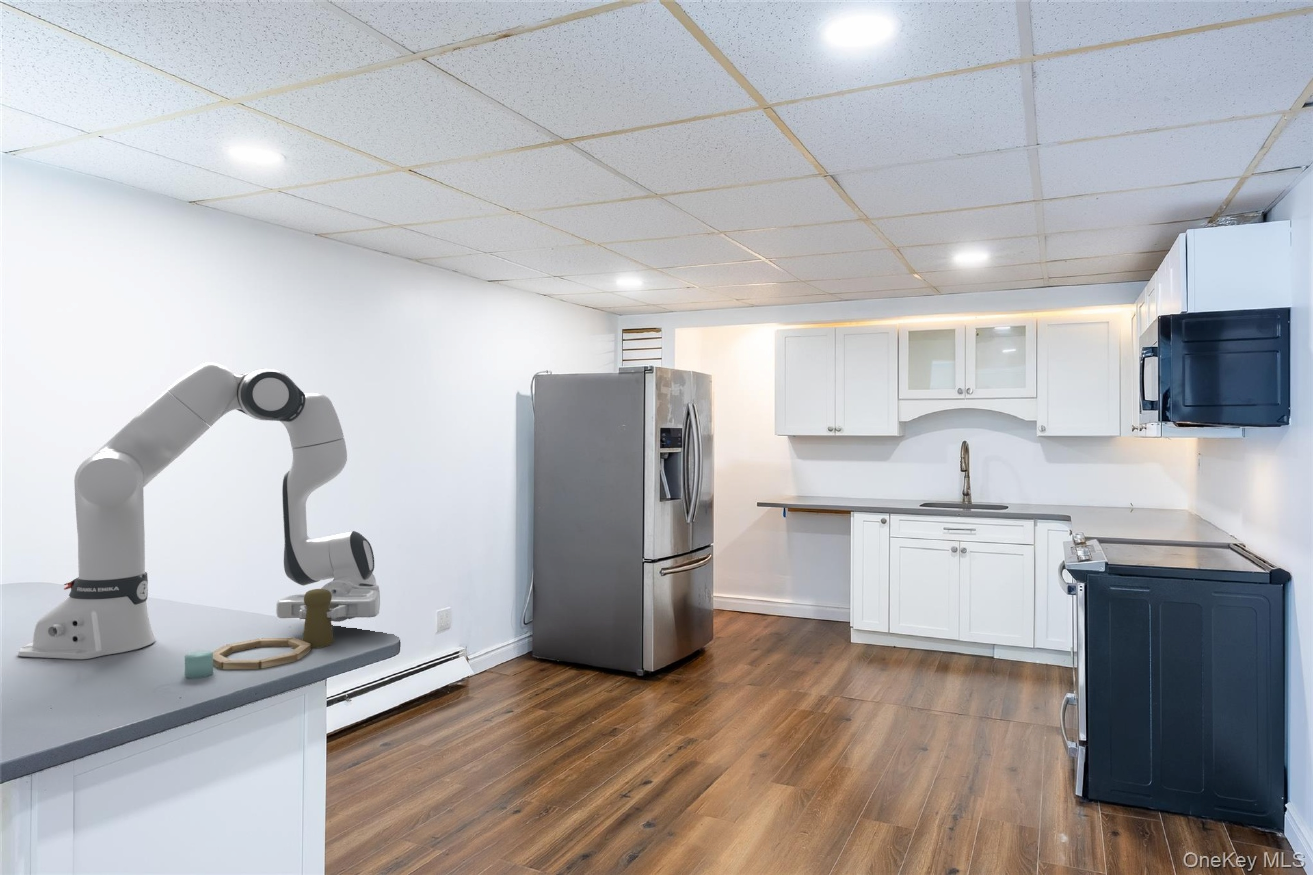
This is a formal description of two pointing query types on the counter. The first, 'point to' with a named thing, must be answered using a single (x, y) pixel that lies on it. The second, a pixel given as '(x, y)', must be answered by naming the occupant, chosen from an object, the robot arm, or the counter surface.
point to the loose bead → (199, 664)
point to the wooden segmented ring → (225, 663)
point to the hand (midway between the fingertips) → (316, 615)
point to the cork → (318, 618)
